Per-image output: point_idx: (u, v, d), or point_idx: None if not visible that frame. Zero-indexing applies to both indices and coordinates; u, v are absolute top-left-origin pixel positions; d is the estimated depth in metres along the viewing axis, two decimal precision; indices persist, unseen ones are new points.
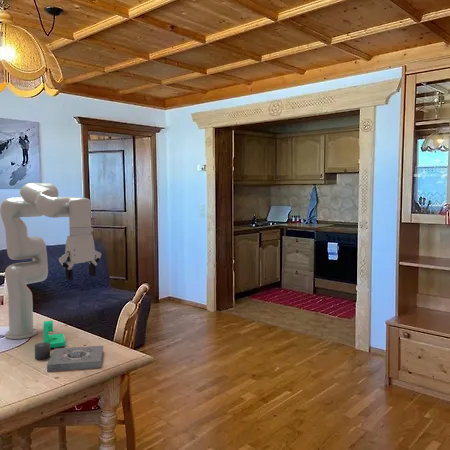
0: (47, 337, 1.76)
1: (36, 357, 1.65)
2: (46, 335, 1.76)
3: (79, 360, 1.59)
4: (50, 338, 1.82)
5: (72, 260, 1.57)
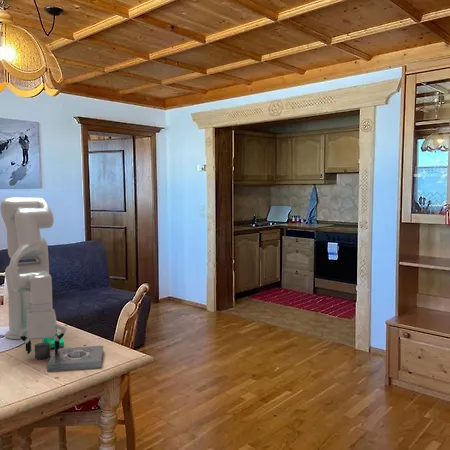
0: None
1: (36, 357, 1.65)
2: None
3: (79, 360, 1.59)
4: (49, 338, 1.81)
5: None
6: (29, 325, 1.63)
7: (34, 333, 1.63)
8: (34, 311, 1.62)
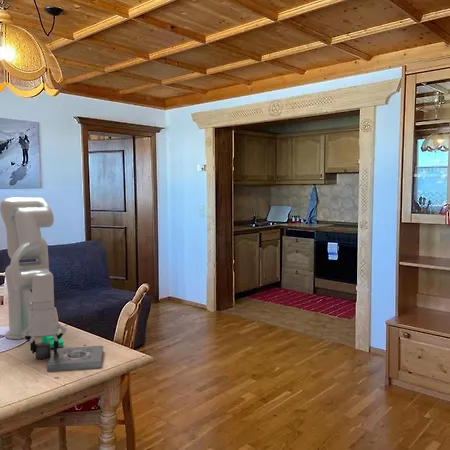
0: (45, 337, 1.76)
1: (36, 357, 1.65)
2: None
3: (79, 360, 1.59)
4: (48, 338, 1.81)
5: None
6: (31, 323, 1.63)
7: (36, 331, 1.63)
8: (36, 309, 1.62)
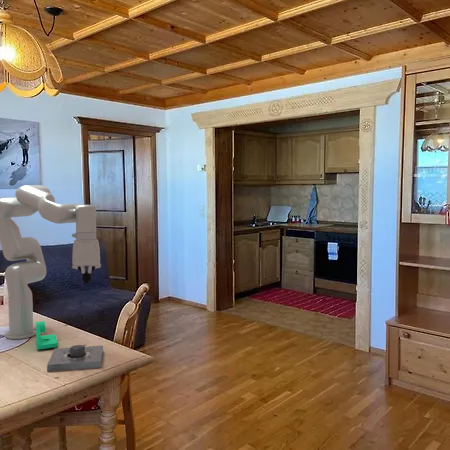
0: (39, 338, 1.75)
1: None
2: (38, 336, 1.75)
3: (79, 360, 1.59)
4: (42, 339, 1.81)
5: None
6: (75, 253, 1.69)
7: (79, 260, 1.70)
8: (80, 239, 1.69)
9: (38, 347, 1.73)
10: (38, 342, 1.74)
